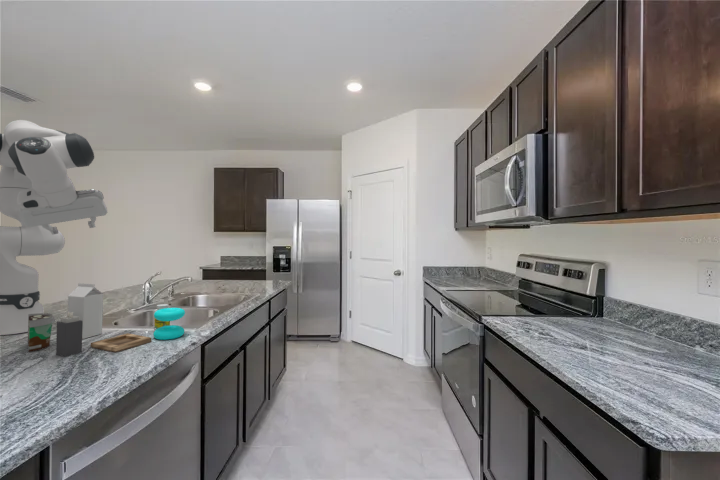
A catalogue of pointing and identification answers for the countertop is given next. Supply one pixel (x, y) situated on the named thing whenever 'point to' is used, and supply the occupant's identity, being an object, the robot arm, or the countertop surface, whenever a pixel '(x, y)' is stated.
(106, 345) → the wooden tray
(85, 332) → the milk carton
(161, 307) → the supplement bottle
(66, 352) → the plug
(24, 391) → the countertop surface
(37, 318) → the food container
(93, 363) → the countertop surface
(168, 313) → the donuts
